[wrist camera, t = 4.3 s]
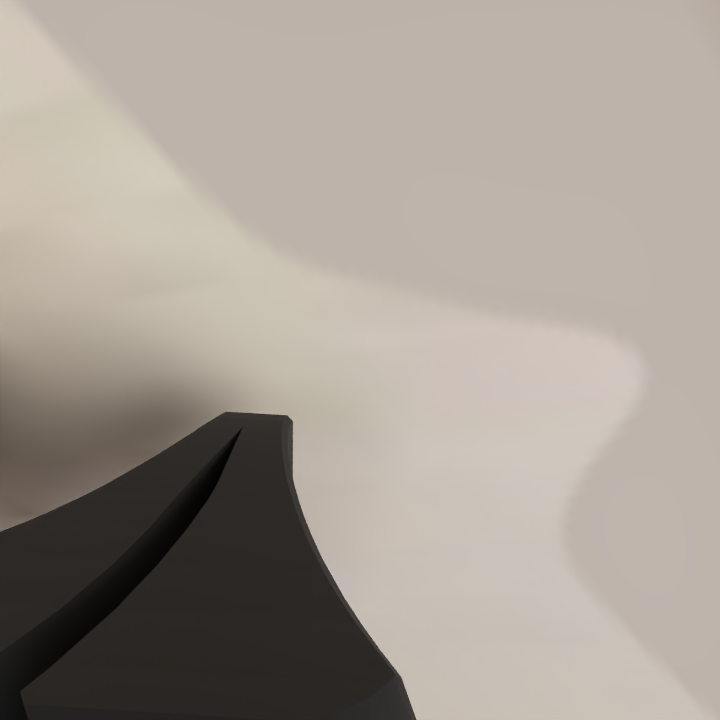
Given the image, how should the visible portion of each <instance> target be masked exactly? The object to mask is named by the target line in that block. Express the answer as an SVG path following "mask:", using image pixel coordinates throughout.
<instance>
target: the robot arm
mask: <svg viewBox="0 0 720 720" xmlns="http://www.w3.org/2000/svg"><path fill="white" fill-rule="evenodd" d="M0 720H416V718H415V715H414V712H413V709H412V706H411V704H410V701H409V698H408V695H407V692H406V689H405V687H404V684H403V681H402V678H401V676H400V675H399V674H398V672H397V671H396V670H395V668H394V667H393V666H392V665H391V663H390V662H389V661H388V660H387V658H386V657H385V656H384V654H383V653H382V652H381V651H380V649H379V648H378V646H377V645H376V644H375V642H374V641H373V640H372V638H371V637H370V635H369V634H368V633H367V631H366V630H365V629H364V627H363V626H362V624H361V623H360V621H359V620H358V618H357V617H356V615H355V614H354V612H353V611H352V609H351V608H350V606H349V604H348V603H347V601H346V600H345V598H344V597H343V595H342V593H341V591H340V590H339V588H338V586H337V584H336V582H335V581H334V579H333V577H332V575H331V573H330V572H329V570H328V568H327V566H326V565H325V563H324V561H323V559H322V557H321V555H320V553H319V551H318V549H317V546H316V544H315V542H314V540H313V538H312V535H311V533H310V530H309V528H308V525H307V523H306V520H305V518H304V515H303V512H302V509H301V506H300V503H299V500H298V496H297V493H296V489H295V486H294V482H293V421H292V420H291V419H290V418H289V417H288V416H287V415H271V414H254V413H237V412H225V413H223V414H221V415H219V416H218V417H216V418H214V419H213V420H211V421H210V422H208V423H206V424H205V425H203V426H202V427H200V428H199V429H197V430H196V431H194V432H193V433H191V434H190V435H188V436H186V437H185V438H183V439H182V440H180V441H179V442H177V443H175V444H174V445H172V446H171V447H169V448H168V449H166V450H164V451H163V452H161V453H160V454H158V455H156V456H155V457H153V458H151V459H150V460H148V461H146V462H144V463H143V464H141V465H139V466H137V467H136V468H134V469H132V470H131V471H129V472H127V473H125V474H124V475H122V476H120V477H118V478H117V479H115V480H113V481H111V482H110V483H108V484H106V485H104V486H102V487H100V488H98V489H96V490H94V491H92V492H90V493H88V494H86V495H84V496H82V497H80V498H78V499H76V500H74V501H72V502H70V503H68V504H65V505H63V506H61V507H59V508H57V509H55V510H53V511H50V512H48V513H46V514H44V515H41V516H39V517H37V518H35V519H32V520H30V521H27V522H25V523H22V524H19V525H17V526H14V527H12V528H9V529H7V530H4V531H2V532H0Z"/></svg>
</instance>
